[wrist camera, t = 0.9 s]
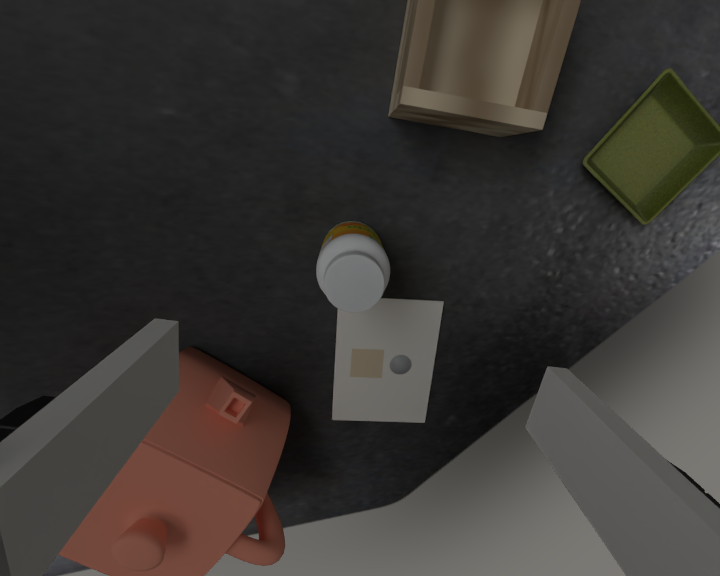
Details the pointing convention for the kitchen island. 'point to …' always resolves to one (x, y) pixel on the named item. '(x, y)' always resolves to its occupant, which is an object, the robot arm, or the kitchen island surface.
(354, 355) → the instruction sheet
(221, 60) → the kitchen island surface
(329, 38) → the kitchen island surface
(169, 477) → the teapot
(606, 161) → the green tray
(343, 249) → the supplement bottle
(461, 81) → the wooden crate
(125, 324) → the kitchen island surface
